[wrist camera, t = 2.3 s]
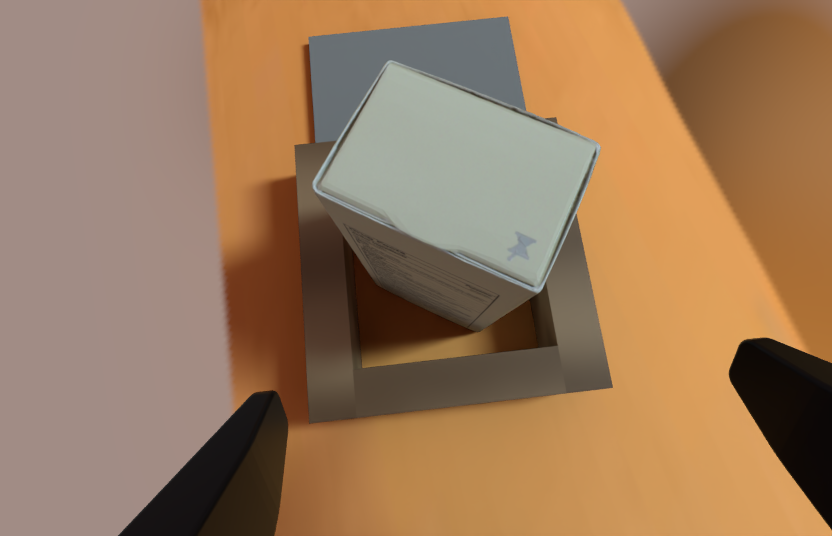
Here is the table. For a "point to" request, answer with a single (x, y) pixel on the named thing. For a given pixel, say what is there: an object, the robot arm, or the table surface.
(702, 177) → the table surface
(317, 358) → the square wooden frame
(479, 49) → the slate mat
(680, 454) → the table surface
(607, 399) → the table surface
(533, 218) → the skincare box
